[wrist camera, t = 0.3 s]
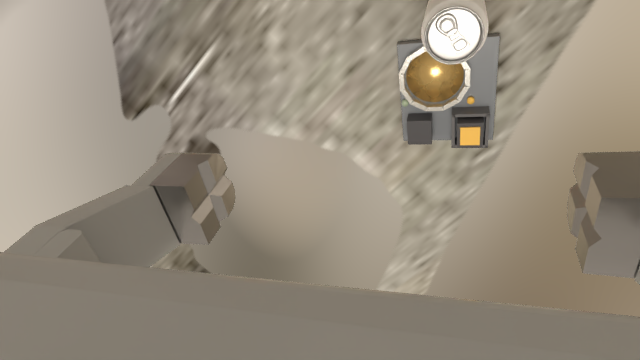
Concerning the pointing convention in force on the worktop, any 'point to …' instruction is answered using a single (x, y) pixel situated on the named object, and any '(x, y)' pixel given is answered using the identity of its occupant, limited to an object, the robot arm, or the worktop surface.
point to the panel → (473, 104)
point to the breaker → (470, 132)
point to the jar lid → (432, 81)
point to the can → (454, 29)
